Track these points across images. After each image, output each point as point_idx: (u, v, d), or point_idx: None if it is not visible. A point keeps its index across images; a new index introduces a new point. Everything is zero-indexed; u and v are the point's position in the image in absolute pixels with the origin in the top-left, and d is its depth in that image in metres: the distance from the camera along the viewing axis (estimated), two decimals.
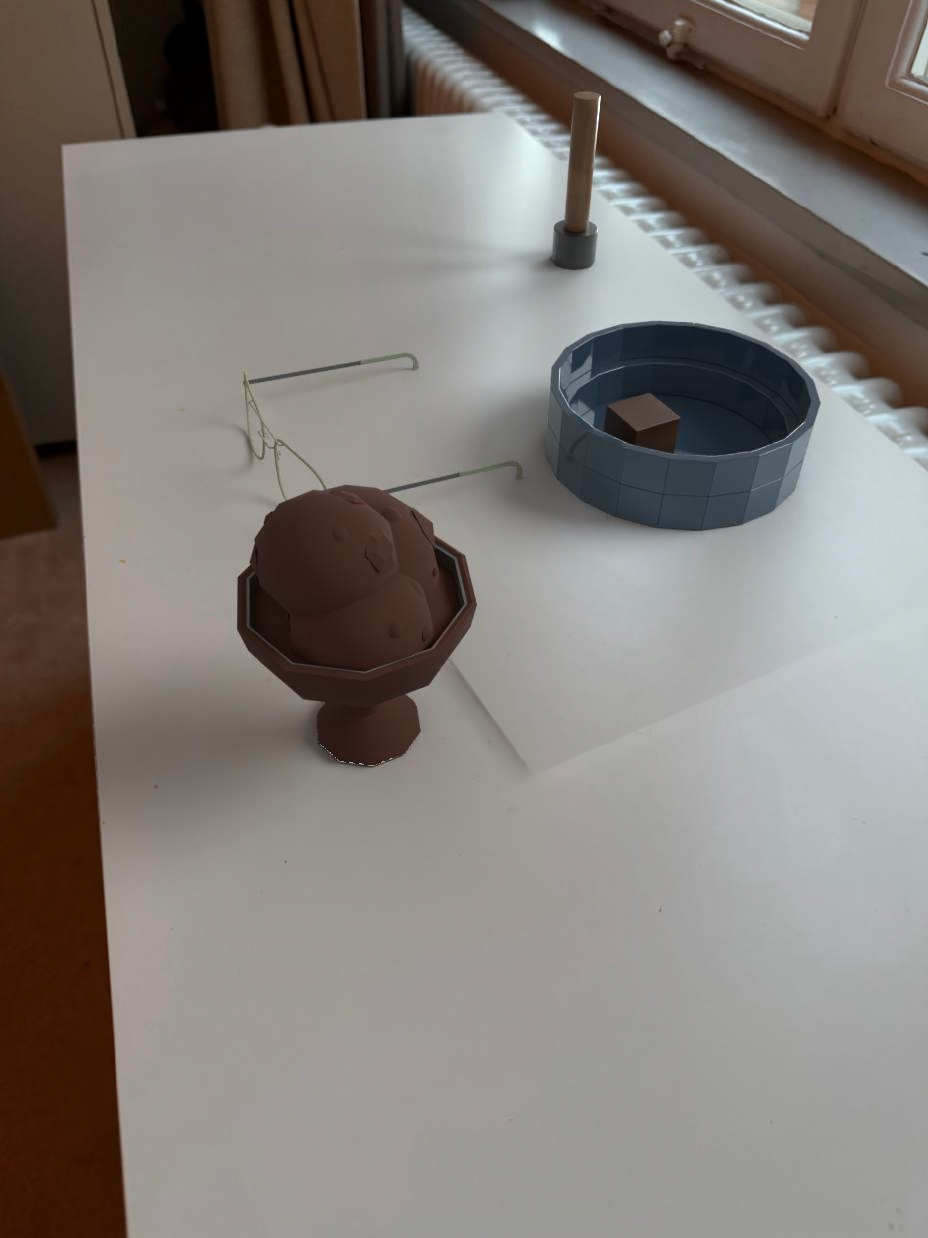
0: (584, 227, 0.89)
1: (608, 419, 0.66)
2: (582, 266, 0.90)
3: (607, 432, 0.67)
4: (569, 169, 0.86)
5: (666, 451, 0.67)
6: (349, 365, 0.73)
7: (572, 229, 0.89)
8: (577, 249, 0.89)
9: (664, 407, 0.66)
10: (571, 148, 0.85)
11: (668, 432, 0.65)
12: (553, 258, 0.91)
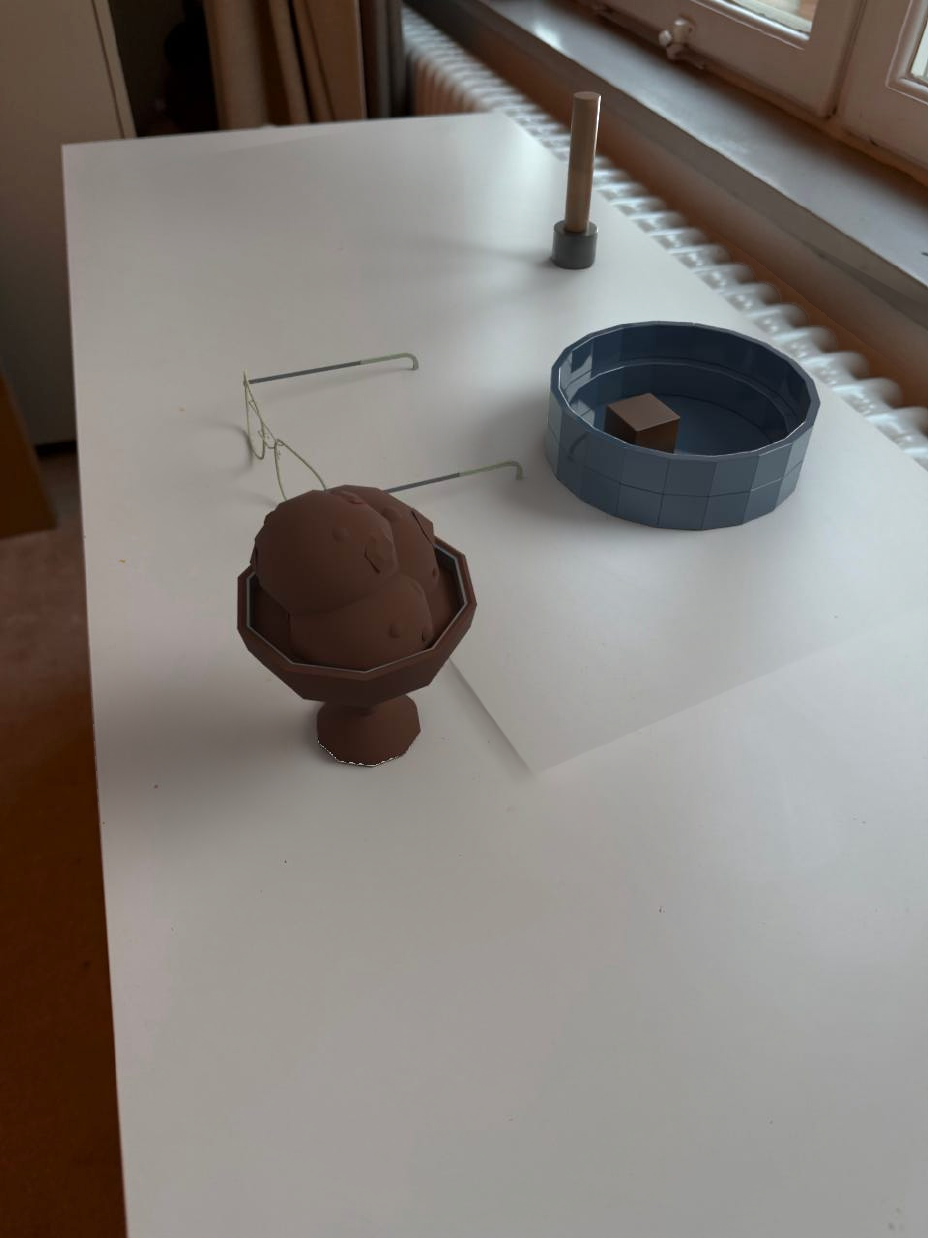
0: (584, 227, 0.89)
1: (608, 419, 0.66)
2: (582, 266, 0.90)
3: (607, 432, 0.67)
4: (569, 169, 0.86)
5: (666, 451, 0.67)
6: (349, 365, 0.73)
7: (572, 229, 0.89)
8: (577, 249, 0.89)
9: (664, 407, 0.66)
10: (571, 148, 0.85)
11: (668, 432, 0.65)
12: (553, 258, 0.91)
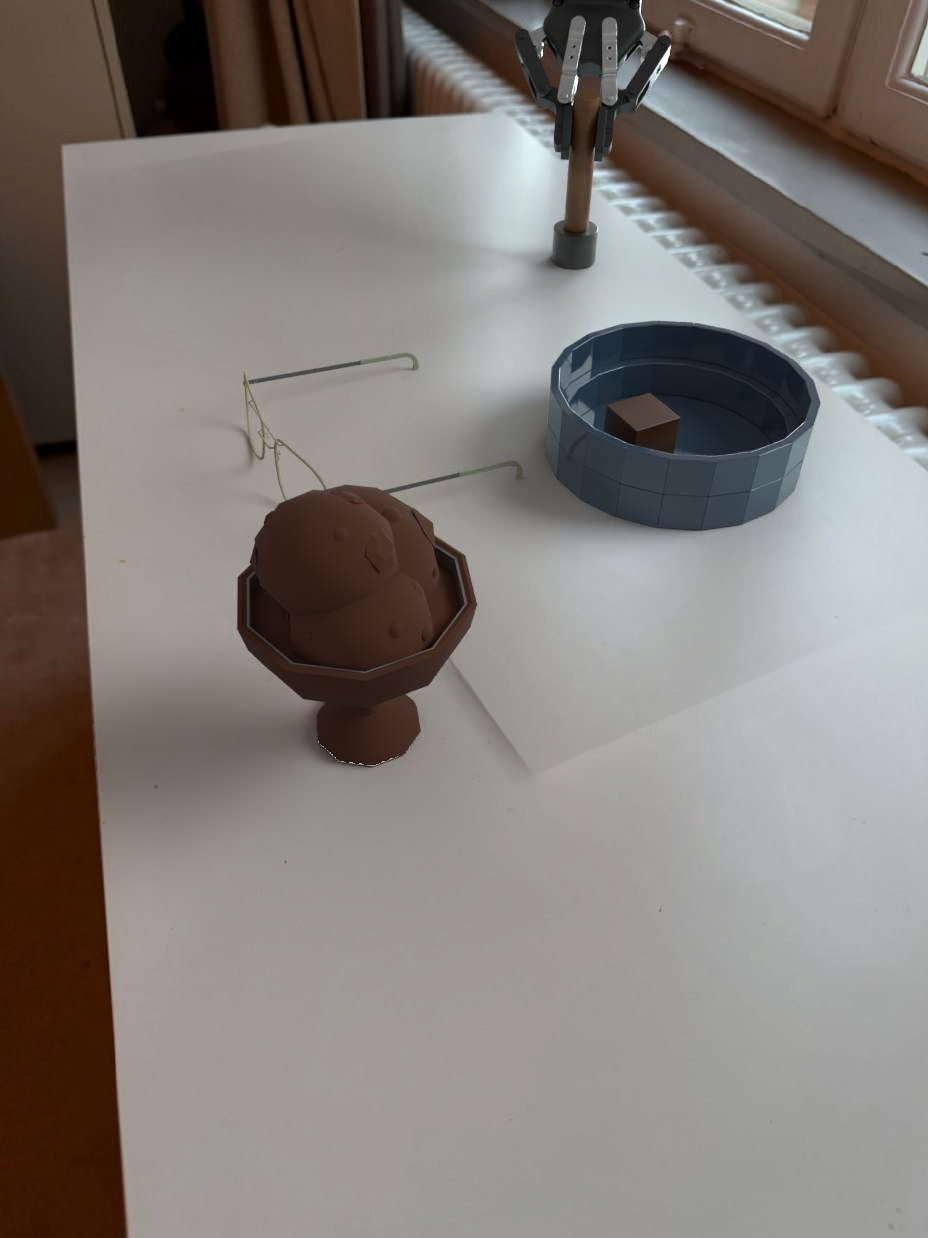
0: (584, 227, 0.89)
1: (608, 419, 0.66)
2: (582, 266, 0.90)
3: (607, 432, 0.67)
4: (569, 169, 0.86)
5: (666, 451, 0.67)
6: (349, 364, 0.73)
7: (572, 229, 0.89)
8: (577, 249, 0.89)
9: (664, 407, 0.66)
10: (571, 148, 0.85)
11: (668, 432, 0.65)
12: (553, 258, 0.91)
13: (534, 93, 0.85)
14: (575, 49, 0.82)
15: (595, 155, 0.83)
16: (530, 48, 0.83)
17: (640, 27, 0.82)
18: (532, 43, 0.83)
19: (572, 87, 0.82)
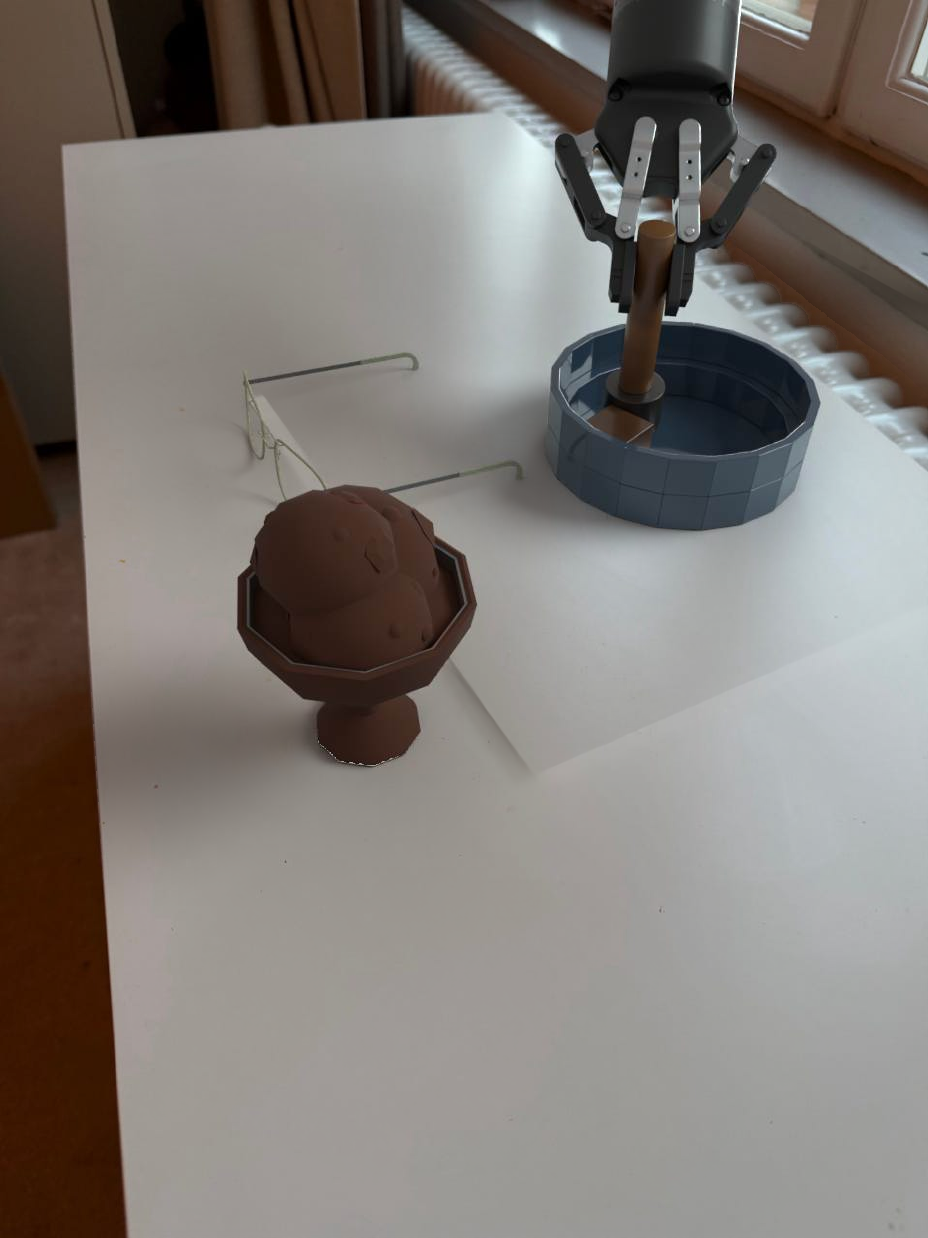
0: (646, 388, 0.66)
1: None
2: None
3: None
4: (628, 318, 0.62)
5: None
6: (349, 365, 0.73)
7: (629, 390, 0.66)
8: None
9: (633, 416, 0.65)
10: None
11: (644, 441, 0.65)
12: None
13: (581, 220, 0.61)
14: (641, 163, 0.58)
15: (667, 310, 0.59)
16: (577, 161, 0.59)
17: (732, 132, 0.58)
18: (579, 153, 0.59)
19: (636, 216, 0.59)
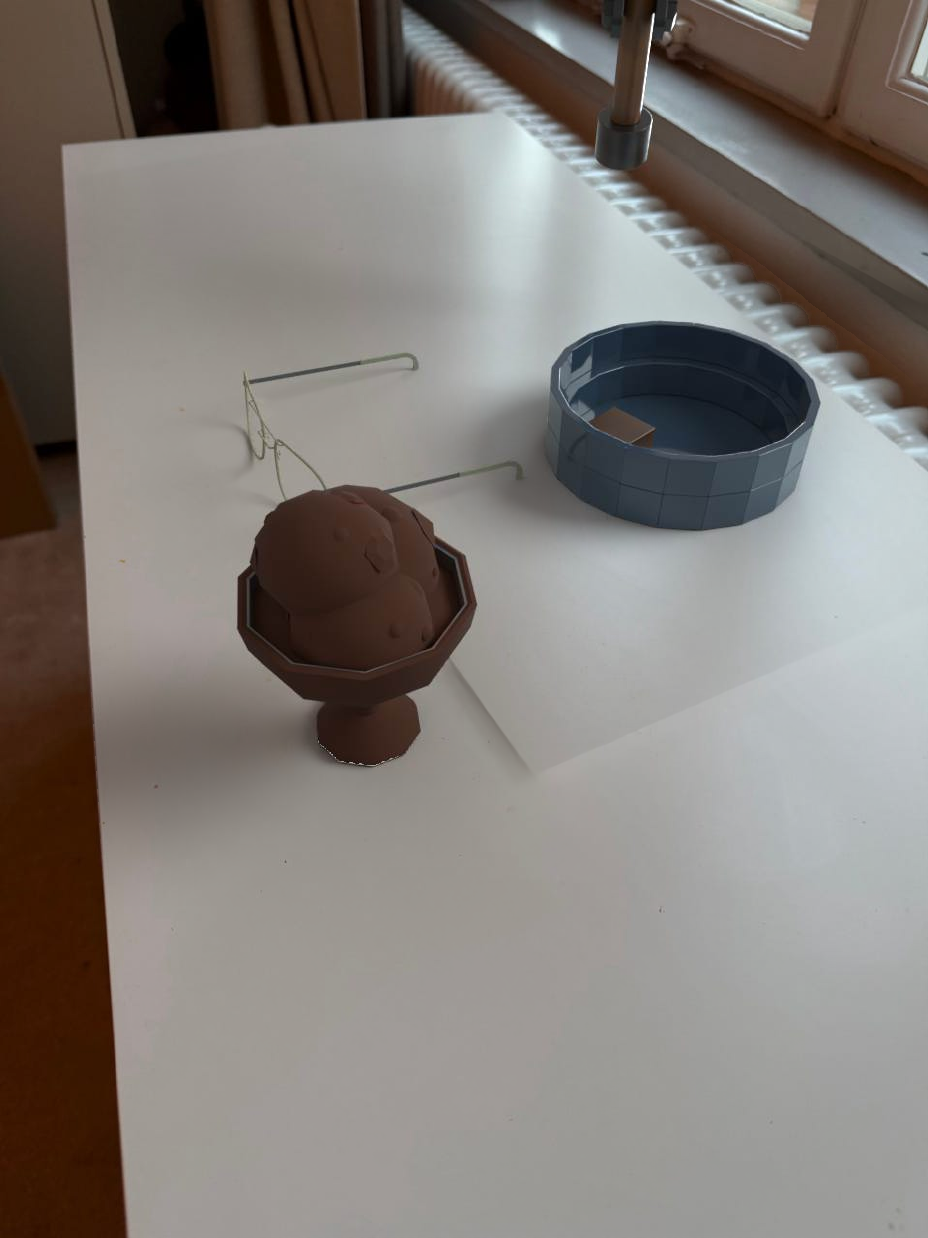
0: (633, 120, 0.73)
1: None
2: (625, 167, 0.75)
3: None
4: (618, 46, 0.70)
5: None
6: (349, 365, 0.73)
7: (618, 121, 0.73)
8: (619, 147, 0.74)
9: (635, 419, 0.65)
10: None
11: (645, 444, 0.64)
12: (595, 152, 0.76)
13: None
14: None
15: (655, 30, 0.66)
16: None
17: None
18: None
19: None
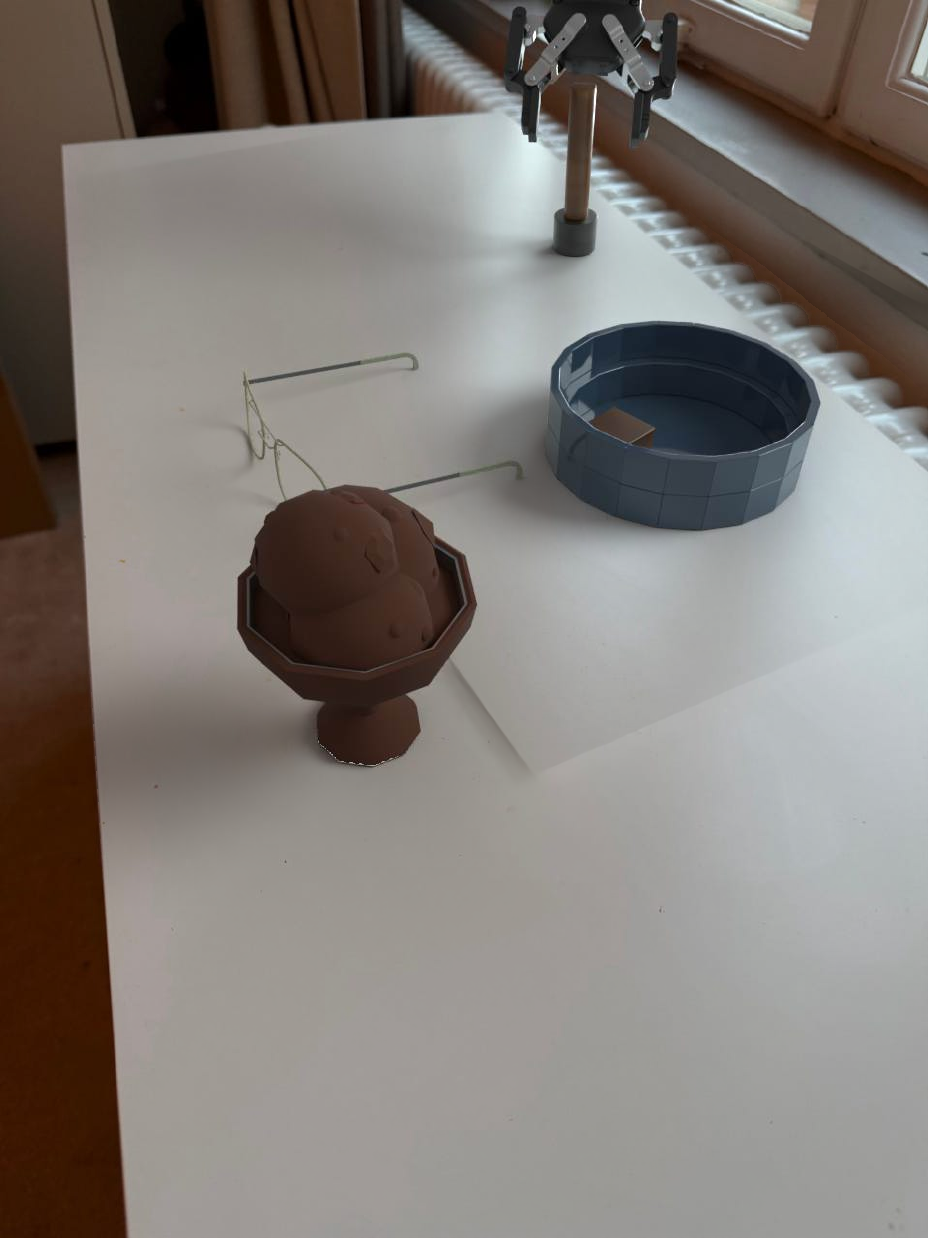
0: (581, 216, 0.91)
1: None
2: (577, 253, 0.92)
3: None
4: None
5: None
6: (349, 364, 0.73)
7: (569, 217, 0.91)
8: (571, 236, 0.91)
9: (635, 419, 0.65)
10: (568, 137, 0.87)
11: (645, 444, 0.64)
12: (553, 243, 0.93)
13: None
14: (563, 42, 0.82)
15: (631, 141, 0.83)
16: (519, 28, 0.83)
17: (641, 19, 0.82)
18: (524, 25, 0.83)
19: (542, 74, 0.83)
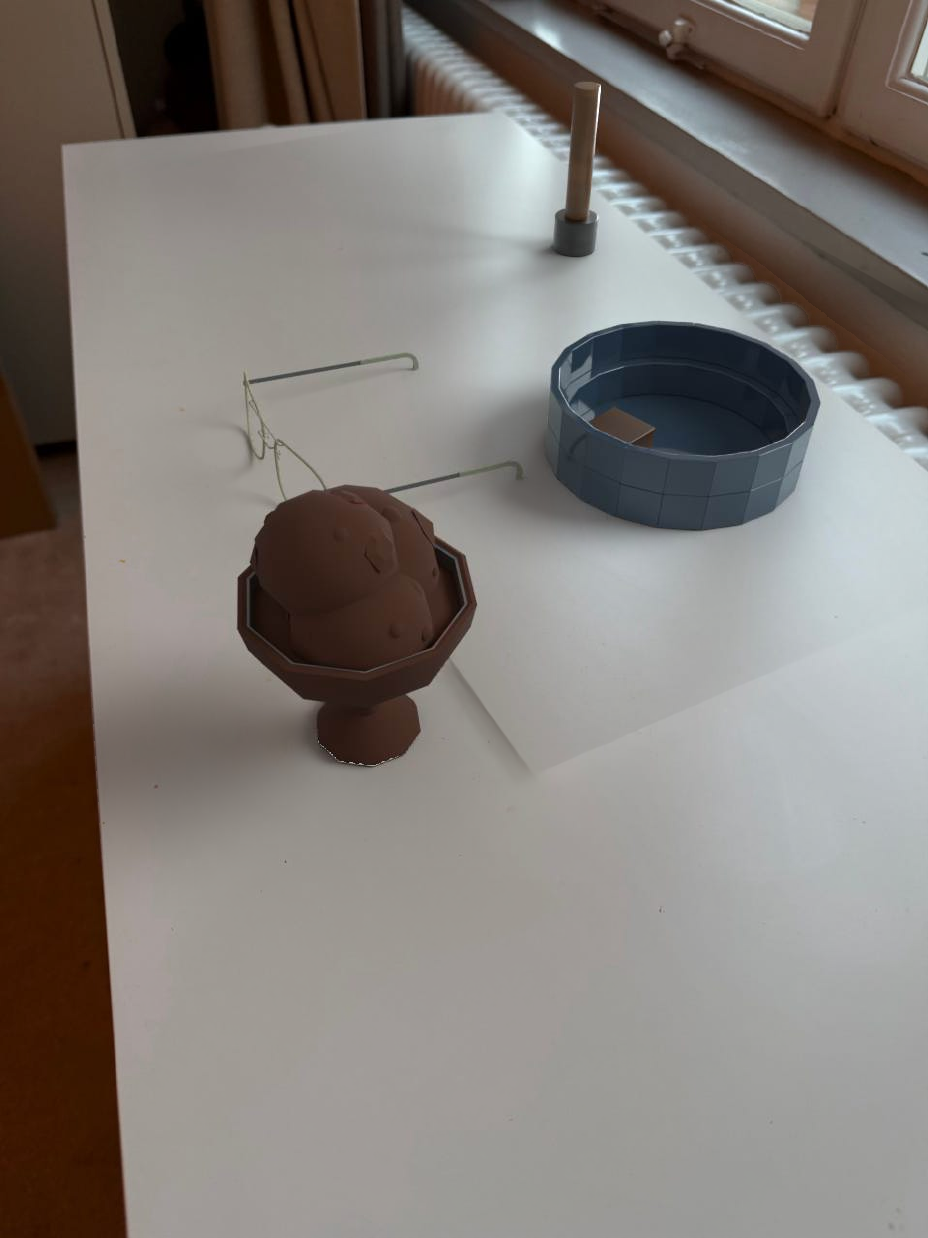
0: (582, 216, 0.91)
1: None
2: (577, 254, 0.92)
3: None
4: (569, 157, 0.88)
5: None
6: (349, 365, 0.73)
7: (570, 217, 0.91)
8: (572, 236, 0.91)
9: (635, 419, 0.65)
10: (571, 136, 0.87)
11: (645, 444, 0.64)
12: (553, 243, 0.93)
13: None
14: None
15: None
16: None
17: None
18: None
19: None
